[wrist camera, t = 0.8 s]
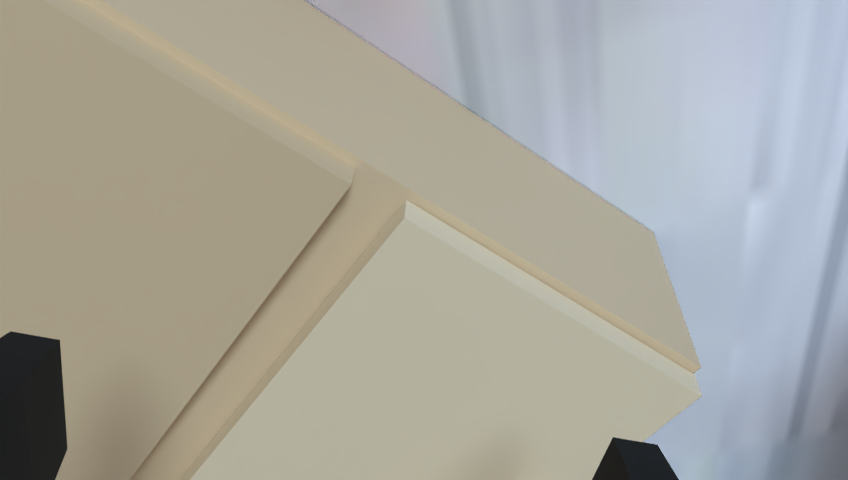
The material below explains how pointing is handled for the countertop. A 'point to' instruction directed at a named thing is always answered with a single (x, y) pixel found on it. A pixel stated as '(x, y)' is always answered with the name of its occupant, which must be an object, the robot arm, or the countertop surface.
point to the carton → (248, 207)
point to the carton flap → (446, 376)
